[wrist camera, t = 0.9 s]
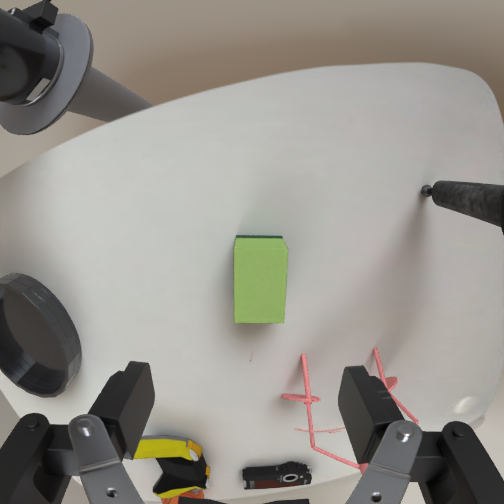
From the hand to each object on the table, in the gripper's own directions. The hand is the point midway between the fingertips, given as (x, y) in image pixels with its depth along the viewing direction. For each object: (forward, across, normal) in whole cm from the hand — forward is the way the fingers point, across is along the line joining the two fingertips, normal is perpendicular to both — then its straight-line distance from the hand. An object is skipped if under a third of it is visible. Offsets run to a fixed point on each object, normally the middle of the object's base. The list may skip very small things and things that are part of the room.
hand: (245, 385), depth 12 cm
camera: (+21, -5, +36) cm, 42 cm away
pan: (+20, +30, +11) cm, 38 cm away
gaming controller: (+21, +11, +32) cm, 40 cm away
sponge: (+20, -1, +1) cm, 20 cm away
